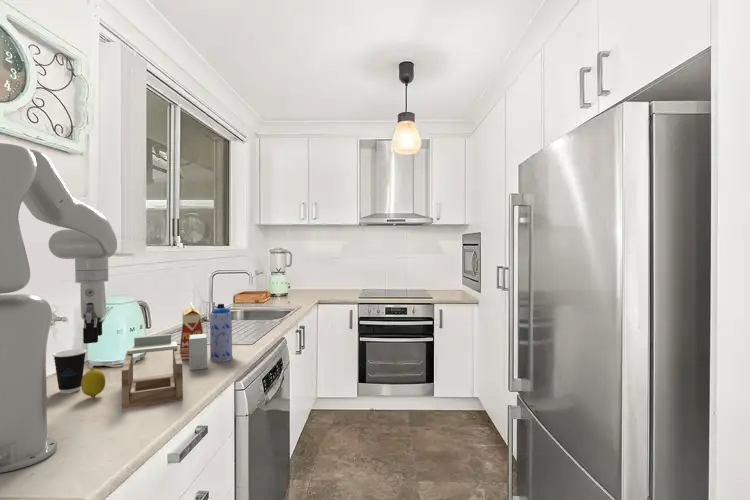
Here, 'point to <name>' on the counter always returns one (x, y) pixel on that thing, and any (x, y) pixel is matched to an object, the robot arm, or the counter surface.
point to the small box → (198, 351)
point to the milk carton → (189, 329)
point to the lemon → (93, 382)
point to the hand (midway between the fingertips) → (93, 339)
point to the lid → (152, 344)
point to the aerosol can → (220, 334)
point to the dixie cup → (69, 369)
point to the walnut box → (151, 384)
